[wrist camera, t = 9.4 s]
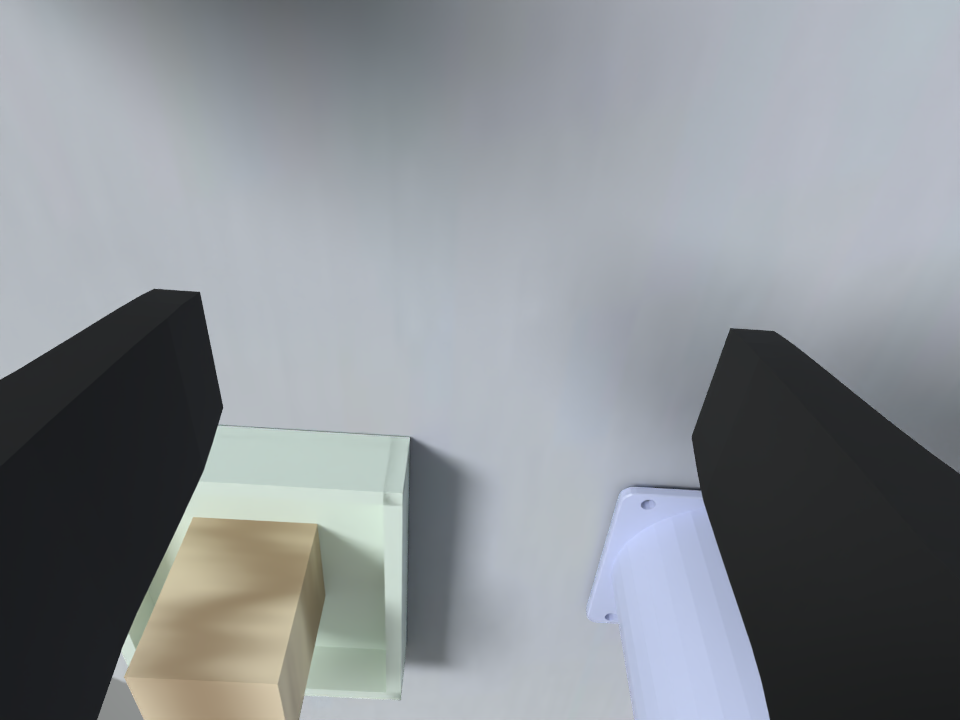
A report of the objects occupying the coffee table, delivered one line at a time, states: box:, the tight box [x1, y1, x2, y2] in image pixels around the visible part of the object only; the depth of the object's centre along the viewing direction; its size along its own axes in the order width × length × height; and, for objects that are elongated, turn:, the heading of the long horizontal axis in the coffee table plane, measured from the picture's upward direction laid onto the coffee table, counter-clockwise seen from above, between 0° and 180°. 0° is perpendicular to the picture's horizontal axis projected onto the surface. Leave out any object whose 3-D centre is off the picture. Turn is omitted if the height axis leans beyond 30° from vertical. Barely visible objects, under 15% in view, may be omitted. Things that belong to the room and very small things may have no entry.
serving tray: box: [121, 425, 410, 700], centre depth 26 cm, size 11×13×2 cm
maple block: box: [124, 517, 326, 720], centre depth 24 cm, size 4×4×6 cm
